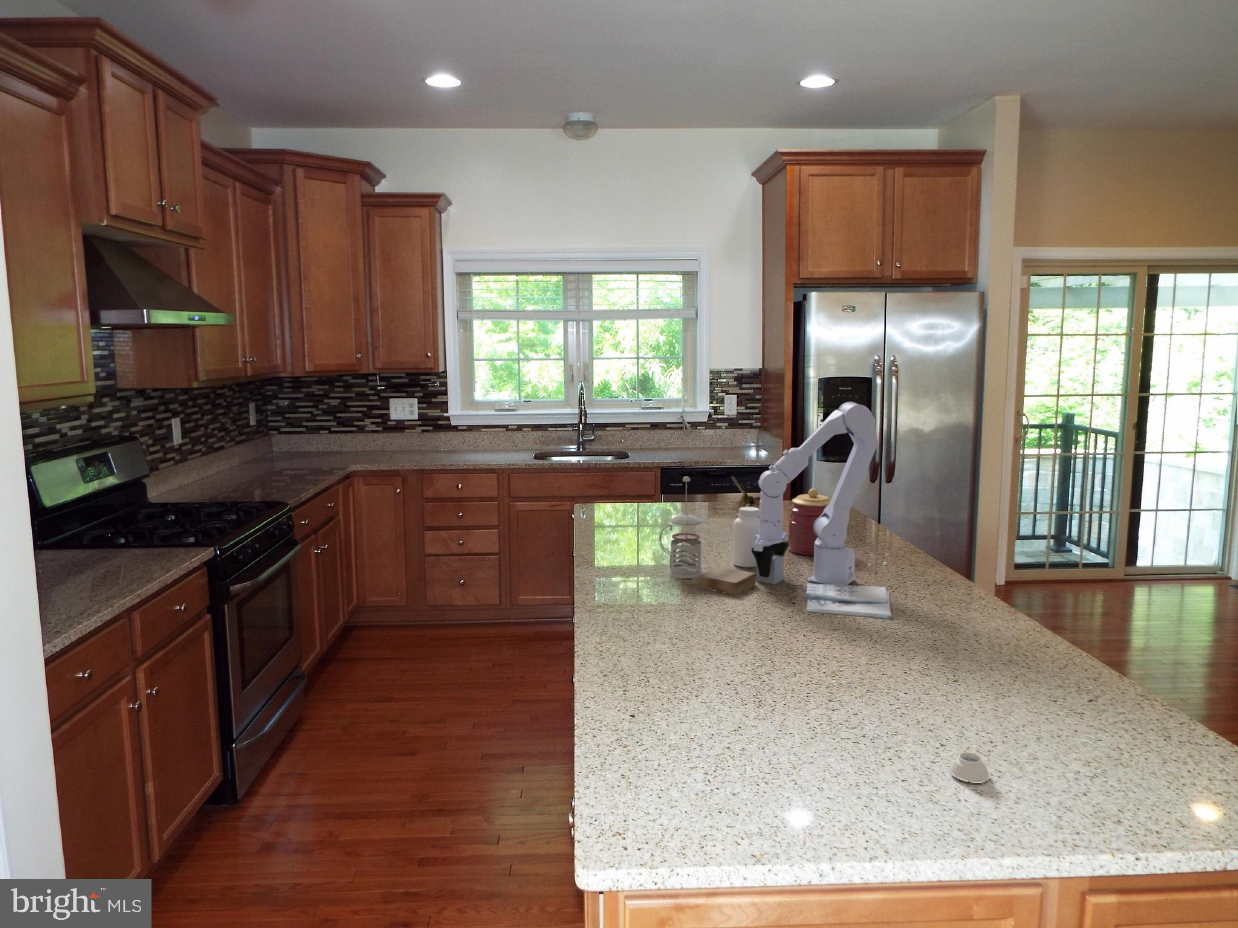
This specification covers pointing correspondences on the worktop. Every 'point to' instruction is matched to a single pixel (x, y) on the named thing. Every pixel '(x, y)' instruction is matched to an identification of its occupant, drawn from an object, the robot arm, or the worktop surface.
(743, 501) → the brass mortar and pestle
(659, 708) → the worktop surface
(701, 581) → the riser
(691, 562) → the french press
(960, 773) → the upturned beige bowl
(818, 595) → the white bicycle print cloth
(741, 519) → the pill bottle
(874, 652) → the worktop surface
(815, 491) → the canister
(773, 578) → the slate cube
